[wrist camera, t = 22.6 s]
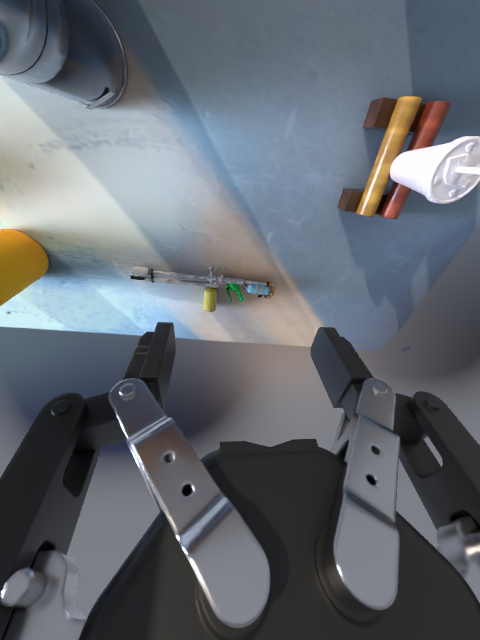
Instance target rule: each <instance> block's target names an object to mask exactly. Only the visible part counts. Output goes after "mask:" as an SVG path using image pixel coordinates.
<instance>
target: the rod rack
mask: <svg viewBox="0 0 480 640" xmlns="http://www.w3.org/2000/svg"><path fill="white" fill-rule="evenodd" d="M421 101H422V98H420V97H415V96H405V97H400V98H398V100H396V99H390V98H380V99H377V100H374V101H371V104H370V107H369V111H368V114H367V117H366V120H365V123H364V126H363V128H365V129H373V130H380V131H386V133H385V136H384V138H383V141H382V144H381V146H380V149H379V152H378V155H377V157H376V160H375V163H374V165H373V168H372V171H371V174H370V176H369V179H368V182H367V185H366V187H365V190H364V191H362V190H352V189H343V192H342V195H341V198H340V201H339V205H338V208H339V209H341V210H343V211H348V212H356V213H357V214H359V215H362V216H368V217H373V216H374V215H375V214H379V215H380V216H382V217H385V218H391V219H397V218H398V216H399V214H400V212H401V210H402V208H403V206H404V204H405V201H406V199H407V197H408V195H409V193H410V191H411V189H410V188H408V187H406V186H404V185H402V184H399V183H397V182H395V181H393V184H392V186H391V188H390V191H389V193H384V191H385V188H386V186H387V183H388V181H389V179H390V169H391V166H392V163H393V162H394V160H395V159H396V158H397V157H398V156H399V154H400V152H401V150H402V147H403V145H404V142H405V140H406V138H407V135H408V134H409V135H413V137H412V139H411V141H410V144H409V146H408V148H407V151H411V150H416V149H421V148H426V147H431V146H432V144H433V142H434V140H435V138H436V136H437V134H438V132H439V129H440V127H441V125H442V123H443V121H444V119H445V117H446V115H447V113H448V110H449V108H450V106H451V103H450V102H446V101H432V102H428V103H427V104H422V103H421Z"/></svg>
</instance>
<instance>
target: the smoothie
mask: <svg viewBox="0 0 480 640" xmlns="http://www.w3.org/2000/svg"><path fill="white" fill-rule="evenodd" d="M390 177H391V179H392V180H393V181H395V182H397V183H399V184H402V185H404V186H406V187H408V188H410V189H412V190H415V191H417V192H419V193H421V194H423V195H425V196H426V198H427V199H428V200H429V201H431V202H434V203H440V204H447V203H451V202H454V201H457V200H459V199H460V198H462V197H464V196H465V195H466V194H468V193H469V192H470V191H471V190H472V189H473V188H474V187H475V186H476V185H477V184H478V183H479V181H480V137H479V136H464V137H461V138H459V139H456V140H454V141H453V142H451V143H446V144H441V145H436V146H431V147H426V148H421V149H416V150H411V151H406V152H403V153H402V154H400V155H399V156H398V157H397V158H396V159H395V160H394V162H393V163H392V166H391V169H390Z"/></svg>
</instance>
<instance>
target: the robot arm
mask: <svg viewBox="0 0 480 640" xmlns="http://www.w3.org/2000/svg"><path fill="white" fill-rule="evenodd" d="M0 75H1V76H4V77H7V78H10V79H13V80H16V81H19V82H22V83H26V84H29V85H31V86H34V87H37V88H40V89H43V90H46V91H49V92H52V93H55V94H58V95H61V96H64V97H67V98H70V99H73V100H76V101H79V102H81V103H83V104H85V105H88V106H87V107H86V108H89V109H93V108H107V107H110V106H113V105H114V104H116V103H117V102H118V101H119V100H120V98H121V97H122V95H123V93H124V91H125V88H126V84H127V77H128V69H127V60H126V55H125V51H124V48H123V45H122V42H121V40H120V37H119V35H118V33H117V31H116V29H115V28H114V26H113V24H112V23H111V21H110V20H109V19H108V17H107V16H106V15H105V14H104V12H103V11H102V10H101V9H100V8H99V7H98V6H97V5H96V4H95V3H94V2H93V1H92V0H0ZM175 347H176V345H175V334H174V325H173V323H170V322H158V323H157V326H156V329H155V332H146V333H145V334H144V335H143V336H142V337H141V338H140V340H139V342H138V344H137V348H136V349H135V352H134V355H133V357H132V359H131V362H130V364H129V366H128V369H127V372H126V374H125V376H124V379H123V380H122V381H120V382H119V383H117V384H116V385H115V386H114V387H113V388H112V389H111V391H110V392H107V393H105V394H102V395H98V396H94V397H90V398H87V399H84V398H83V397H82V396H81V395H80V394H77V393H66V394H62V395H60V396H58V397H55V398H54V399H52V400H51V401H49V402H48V403H47V404H46V405H45V406H44V407H43V408H42V409H41V411H40V413H39V414H38V416H37V418H36V419H35V421H34V423H33V424H32V426H31V428H30V429H29V431H28V433H27V434H26V436H25V438H24V439H23V441H22V443H21V444H20V446H19V448H18V449H17V451H16V453H15V454H14V456H13V458H12V459H11V461H10V463H9V464H8V466H7V468H6V469H5V471H4V473H3V474H2V476H1V478H0V640H480V445H479V444H478V443H477V442H476V440H474V438H473V437H472V436H471V434H470V433H469V432H468V431H467V430H466V428H465V427H464V426H463V425H462V424H461V422H460V421H459V420H458V419H457V417H456V416H455V415H454V414H453V412H452V411H451V410H450V409H449V408H448V406H447V405H446V404H445V403H444V402H443V401H442V400H440V399H439V398H438V397H436V396H434V395H432V394H430V393H427V392H422V391H421V392H417V393H415V394H414V396H413V397H408V396H404V395H401V394H397V393H394V391H393V390H392V388H391V387H390V386H388V385H387V384H385V383H384V382H382V381H380V380H378V379H374V378H373V376H372V375H371V373H370V372H369V370H368V369H367V367H366V366H365V364H364V363H363V361H362V360H361V358H359V355H358V354H357V352H355V349H354V348H353V346H352V345H351V343H350V342H348V341H347V340H346V339H345V338H344V337H340V336H339V334H338V332H337V331H336V329H335V328H330V327H320V328H319V329H318V331H317V333H316V336H315V338H314V341H313V344H312V346H311V357H312V360H313V362H314V364H315V366H316V369H317V371H318V373H319V375H320V378H321V380H322V382H323V385H324V387H325V389H326V391H327V393H328V396H329V398H330V400H331V403H332V405H333V407H334V408H343V410H344V413H343V414H342V417H341V421H340V424H339V427H338V431H337V434H336V437H335V441H334V444H333V447H332V449H331V451H328V450H326V449H323V448H321V447H318V445H317V441H316V439H300V440H299V439H298V440H291V441H288V442H285V443H282V444H279V445H276V446H273V447H266V446H262V445H258V444H254V443H249V442H246V441H236V442H220V449H219V450H216V451H213V452H211V453H209V454H208V455H206V456H205V457H203V458H202V459H201V460H200V459H199V458H198V456H197V454H196V453H195V452H194V450H193V448H192V447H191V446H190V444H189V443H188V441H187V440H186V438H185V437H184V435H183V434H182V432H181V431H180V429H179V428H178V426H177V425H176V423H175V422H174V420H173V419H172V418H171V417H170V416H168V417H167V416H166V415H165V413H164V412H163V409H164V405H165V401H166V396H167V391H168V386H169V381H170V376H171V372H172V367H173V362H174V357H175ZM427 436H428V437H429V439H430V440H431V442H432V443H433V445H434V446H435V448H436V449H437V451H438V452H439V454H440V455H441V457H442V460H443V466H442V467H441V466H440V464H439V463H438V461H437V460H436V458H435V456H434V455H433V453H432V452H431V450H430V449H429V447H428V446H427V444H426V442H425V441H424V439H425V438H426V437H427ZM122 440H126V442H127V444H128V446H129V448H130V450H131V452H132V454H133V456H134V458H135V460H136V462H137V464H138V466H139V469H140V471H141V473H142V475H143V477H144V479H145V481H146V484H147V486H148V488H149V490H150V492H151V495H152V496H153V498H154V501H155V503H156V505H157V507H158V509H159V511H160V513H159V514H158V516H157V517H156V519H155V520H154V521H153V523H152V524H151V526H150V527H149V528H148V530H147V531H146V533H145V534H144V535H143V537H142V538H141V539H140V541H139V542H138V544H137V545H136V546H135V548H134V549H133V550H132V552H131V553H130V555H129V556H128V558H127V559H126V560H125V562H124V563H123V564H122V566H121V567H120V569H119V570H118V571H117V573H116V574H115V575H114V577H113V578H112V580H111V581H110V583H109V584H108V585H107V587H106V588H105V589H104V591H103V592H102V594H101V595H100V596H99V598H98V599H97V601H96V603H95V605H94V606H93V608H92V610H91V612H90V614H89V616H88V618H85V617H84V616H83V615H82V614H81V612H80V610H79V607H78V602H77V591H78V585H79V578H80V573H79V567H78V565H77V563H76V561H74V560H73V559H72V558H70V557H68V556H66V555H67V552H68V549H69V546H70V543H71V539H72V536H73V533H74V530H75V527H76V524H77V521H78V518H79V515H80V511H81V509H82V506H83V503H84V500H85V497H86V493H87V490H88V487H89V484H90V481H91V478H92V475H93V472H94V469H95V466H96V463H97V460H98V457H99V454H100V451H101V448H103V447H105V446H108V445H111V444H114V443H117V442H120V441H122ZM399 459H400V461H401V463H402V465H403V467H404V468H405V471H406V472H407V474H408V476H409V478H410V480H411V482H412V484H413V486H414V487H415V489H416V491H417V493H418V495H419V497H420V499H421V501H422V503H423V505H424V507H425V508H426V510H427V512H428V514H429V516H430V518H431V520H432V522H433V524H434V525H435V527H436V529H437V540H438V544H439V545H438V546H437V548H435V547H434V546H433V545H431V544H430V543H429V542H428V541H427V540H426V539H425V538H424V537H423V536H422V535H421V534H420V533H419V532H418V531H417V530H416V529H415V528H414V527H413V526H412V525H411V524H409V523H408V522H407V521H406V520H405V519H404V518H403V517H402V516H401V515H400V514H399V513H398V512H397V511H396V499H397V480H398V464H399Z"/></svg>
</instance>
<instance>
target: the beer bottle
mask: <svg viewBox="0 0 480 640" xmlns="http://www.w3.org/2000/svg"><path fill="white" fill-rule="evenodd" d="M48 266H49V260H48V256H47V254H46V252H45V251H44V249H43V248H42V247H41V246H40V244H39V243H38V242H36V241H35V240H34V239H33V238H31V237H30V236H28V235H26V234H24V233H22V232H19V231H15V230H11V229H0V306H1V305H3V304H4V303H5V302H7V301H8V300H10V299H11V298H12V297H14V296H15V295H16V294H18V293H19V292H21V291H22V290H23V289H25V288H26V287H28V286H29V285H30V284H32V283H33V282H35V281H36V280H38V279H39V278H41V277H42V276H43V275H44V274H45V273H46V271H47V270H48Z"/></svg>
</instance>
